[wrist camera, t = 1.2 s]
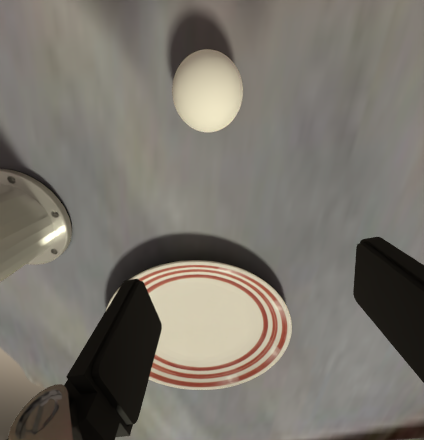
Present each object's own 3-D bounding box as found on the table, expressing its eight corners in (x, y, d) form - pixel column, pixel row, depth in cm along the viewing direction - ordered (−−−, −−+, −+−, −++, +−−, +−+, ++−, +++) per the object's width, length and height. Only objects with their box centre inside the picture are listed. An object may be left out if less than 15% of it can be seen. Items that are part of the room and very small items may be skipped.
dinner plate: (323, 309, 32) (335, 328, 29) (217, 390, 41) (217, 411, 38) (172, 209, 26) (166, 219, 23) (86, 331, 35) (74, 350, 32)
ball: (187, 137, 22) (177, 140, 16) (171, 71, 20) (154, 48, 14) (243, 124, 21) (252, 122, 16) (233, 54, 19) (240, 24, 14)
